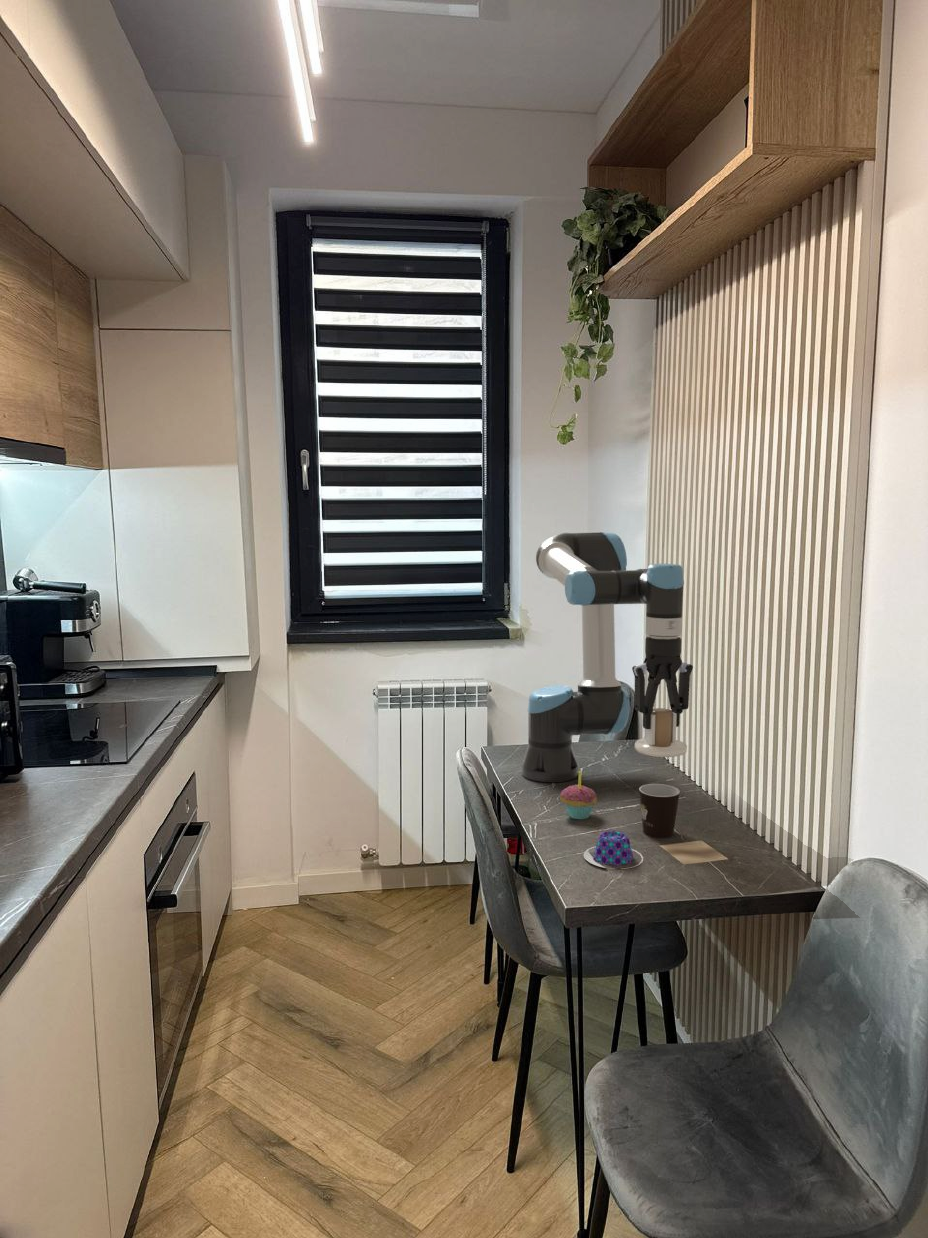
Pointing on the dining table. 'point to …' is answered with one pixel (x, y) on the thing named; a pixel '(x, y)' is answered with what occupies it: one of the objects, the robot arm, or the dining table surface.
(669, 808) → the coffee mug
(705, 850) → the cork mat
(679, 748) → the lid
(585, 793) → the cupcake
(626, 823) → the dining table surface
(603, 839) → the pudding
